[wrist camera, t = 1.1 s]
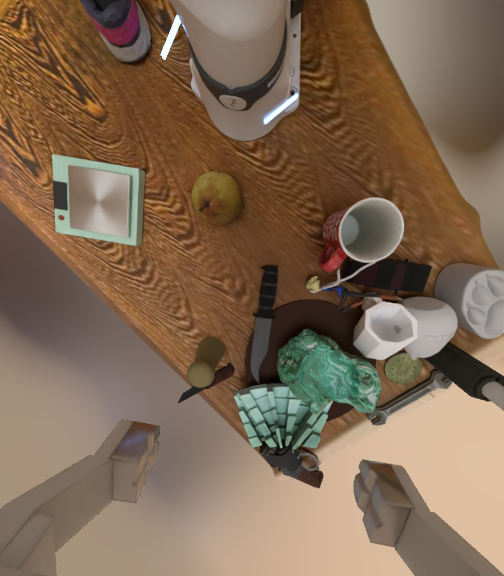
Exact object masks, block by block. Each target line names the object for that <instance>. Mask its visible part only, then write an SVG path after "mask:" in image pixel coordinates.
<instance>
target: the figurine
mask: <svg viewBox="0 0 504 576" xmlns="http://www.w3.org/2000/svg"><path fill="white" fill-rule="evenodd" d="M375 263H376V262H371V263H369V264H367V265H365V266H363V267H361V268H360V269H358V270H357V271H356V272H355V273H353V274H352V275H350V276H348V277H346V278H344V279H341V280H340V278H341V277H340V269H338V270H337V277H338V280H337V281H335V282H332V283H329V284H326V285H325V286H324V287H321V288H320V289H319V283H320V281H319V280H317V278H319V277H318V276H315V277H312V278H311V280H309V282H310V283H311V284H310V283H309V282H307V283H308V284H309V285H308V284H307V285H306V288H308V289H309V288H310V289H314V290H312V291H310V289H309V291H310V292H311V293H314V294H316V293H317V292H318V291H320V290H326V291H328V292H331V291H330V290H335V291H338V297H341V294H343V296H342V299H341V301H340V304H339V306H338V311H339V312H340V313H344V312H346V311H347V310H349V309H351V308H355V307H357V306H359V305H361V304H365V303H367V304H369V303H368V301H366V300H364V299H363V300H362V301H358V302H355V303H353V304H351V305H349V306H347V307H346V308H344V309H343V310H342V311H341V310H340V309H341V308H342V306H343V305H344V303H345V301H346V299H347V296H352V297H376V298H380V299H389V300H396V301H398V300H401V301H402V298H400V297H397V296H395V297H394V296H390V295H385V294H361V293H356V292H349V291H348V289H346V288H345V287H343V286H340V287H337V285H338V284H339V283H340V282H343V281H345V280H348V279H350V278H352V277H353V276H355V275H356V274H357V273H359V272H360V271H361V270H363V269H364V268H366V267H368V266H370V265H372V264H375ZM312 282H313V283H312ZM293 287H294V286H293Z"/></svg>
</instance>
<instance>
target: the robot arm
mask: <svg viewBox="0 0 504 576" xmlns="http://www.w3.org/2000/svg"><path fill="white" fill-rule="evenodd" d="M169 1H170V3H171V4H172V6H173V8H174V9H175V11H176V13H177V16H176V19H175V21H174V23H173V26H172V28H171V31H170V33H169V36H168V38H167V41H166V43H165V46H164V48H163V51H162V53H161V56H162V57H163V59H166V56H167V54H168V51H169V49H170V47H171V44H172V42H173V39H174V37H175V34H176V32H177V30H178V27H179V25H180V22H181V23H182V25H183V27H184V30H185V32H186V34H187V36H188V41H189V47H190V51H191V56H192V58H191V59H190V67H191V71H192V74H193V76H192V80H191V88H192V91H193V93H194V94H195V95H196V97H197V98H198V99H199V100H200V101H201V102H202V103H203V104H204V106H205V108H206V110H207V112H208V115H209V117H210V119H211V120H212V122H213V123H214V125H215V126H216V127H217V128H218V129H219V130H220V131H221V132H222V133H223V134H225V135H226V136H228V137H230V138H232V139H235V140H240V141H251V140H255V139H258V138H260V137H263V136H264V135H266V134H267V133H269V132H270V131H271V130H272V129H273V128H274V127H275V126H276V125H277V123H278V122H279V121H280V120H281V119H282V118H283V117H284V116H287V115H288V114H290V113H292V112H294V111H295V110H296V109H297V108H298V106H299V95H300V34H301V12H302V10H303V4H304V0H169ZM291 92H293V93H294V94H295V95H294V96H291V95H290V93H291ZM159 435H160V426H156V425H151V424H146V423H141V422H136V421H130V420H124V419H122V420H121V421H120V422H119V423H118V424H117V425H116V427H115V428H114V429H113V431H112V432H111V433H110V435H109V436H108V437H107V438H106V440H105V441H104V443H103V444H102V445H101V447H100V448H99V449H98V450H97V452H96V453H95V455H94V456H92V455H89V456H87V457H85V458H84V459H82V460H80V461H79V462H77V463H76V464H74V465H72V466H70V467H68V468H67V469H65V470H63V471H62V472H60V473H58V474H56V475H55V476H53V477H52V478H50V479H48V480H46V481H45V482H43V483H41V484H39V485H38V486H36V487H34V488H33V489H31V490H29V491H27V492H26V493H24V494H22V495H21V496H19V497H17V498H16V499H14V500H12V501H11V502H9V503H7V504H5V505H4V506H3V507H2V508H1V509H0V576H56V557H55V552H56V551H58V550H59V549H60V548H61V547H62V546H63V545H64V544H65V543H66V542H68V540H70V539H71V538H72V537H73V536H74V535H75V534H76V533H78V532H79V531H80V530H81V529H82V528H83V527H84V526H85V525H86V524H88V522H90V521H91V520H92V519H93V518H94V517H95V516H96V515H98V514H99V513H100V512H101V511H102V510H103V509H104V508H105V507H106V506H107V505H109V504H110V503H111V501H112V500H116V501H123V502H131V503H136V502H137V500H138V498H139V496H140V494H141V491H142V489H143V487H144V485H145V481H146V475H147V474H148V473H149V472H151V470H152V468H153V465H154V463H155V460H156V457H157V454H158V449H159V442H158V441H157V439H158V437H159ZM359 469H360V473H359V474H357V475H356V476H355V480H354V494H355V499H356V502H357V505H358V507H359V508H360V509H361V510H362V511H363V512H364V516H363V522H364V525H365V528H366V531H367V534H368V537H369V539H370V542H371V543H376V544H381V545H386V546H390V547H395V550H396V551H397V553H398V554H399V555H400V556H401V558H402V559H403V561H404V562H405V563H406V564H407V566H408V567H409V569H410V570H411V571H412V573H413V574H414V575H415V576H504V575H503V574H502V573H501V572H500V571H499V570H498V569H496V568H495V567H494V566H493V565H492V564H491V563H490V562H489V561H488V560H487V559H486V558H484V557H483V556H482V555H481V554H480V553H479V552H478V551H477V550H476V549H475V548H473V547H472V546H471V545H470V544H469V543H468V542H467V541H466V540H465V539H463V538H462V537H461V536H460V535H459V534H458V533H457V532H456V531H454V530H453V529H452V528H451V527H450V526H449V525H448V524H447V523H445V522H444V521H443V520H442V519H441V518H440V517H439V516H438V515H437V514H435V513H434V512H430V510H429V508H428V507H427V505H426V503H425V502H424V500H423V498H422V497H421V495H420V493H419V492H418V490H417V488H416V487H415V485H414V484H413V482H412V480H411V479H410V477H409V475H408V474H407V472H406V470H405V469H404V468H403V467H402V466H400V465H394V464H387V463H381V462H375V461H368V460H362V461H361V462H360V464H359Z"/></svg>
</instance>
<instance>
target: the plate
mask: <svg viewBox="0 0 504 576" xmlns="http://www.w3.org/2000/svg"><path fill="white" fill-rule="evenodd" d="M340 310H341V311H342V310H343V308H341V309H340ZM271 315H272V316H275V317H276V318H277V319H276V318H273V319H272V323H271V330H270V336H269V343H268V350H267V354H266V355H265V357H264V359H263V361H262V363H261V365H260V368H259V383H258V382H257V380H256V379H255V378H254V376H253V374H252V372H251V353H252V346H253V339H254V333H253V335H252V336H251V339H250V342H249V344H248V347H247V351H246V357H245V372H246V376H247V380H248V384H249V386H250V387H251V386H257V385H263V384H270V383H273V384H274V383H277V384H280V383H283V382H282V381H281V380H280V376H279V373H278V369H277V361H278V352H279V349H281V348H282V347H283V346H285V345H286V344H288V342H289V340H290V339H292V338H295V337H296V336H298V335H299V334H300V333H302V332H303V330H305V329H311V330H312V331H314V332H316V333H317V335H324V336H326V337H330V338H331V339H332V340H333V341H334V342H336V343H337V344H338V346H339V347H340V349H341V350H343V351H346V352H348V353H350V354H352V355H356V356H358V357H360V359H363V360H366V361H368V362H369V363H370V364H371V365H372V366H373V367H374V368H375V365H376V359H372V358H367V357H365V356H364V355H363V354H362V353H361V352H360V351H359V350H358V349H357V348H356V347H355V346H354V345H353V337H354V328H355V327H356V325H357V324H358V322H359V320H358V319H357V318H356V317H355V316H354V315H353V314H351V313H350V312H348V311H346V312H344V313H340V312H339V311H338V306H337V305H335V304H332V303H330V302H325V301H319V300H302V301H297V302H293V303H289V304H287V305H285V306H283V307H280V308H278V309H277V310H275V311H274V312H272V313H271ZM353 408H354V406H352V405H350V404H348V403H338V402H336V401H333V402H332V404H331V406H330V408H329V410H328V412H327V414H328V418H327V420H326V421H329V420H332V419H335V418H338V417H340V416H342V415H343V414H345V413H347V412H349V411H350V410H351V409H353Z"/></svg>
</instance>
